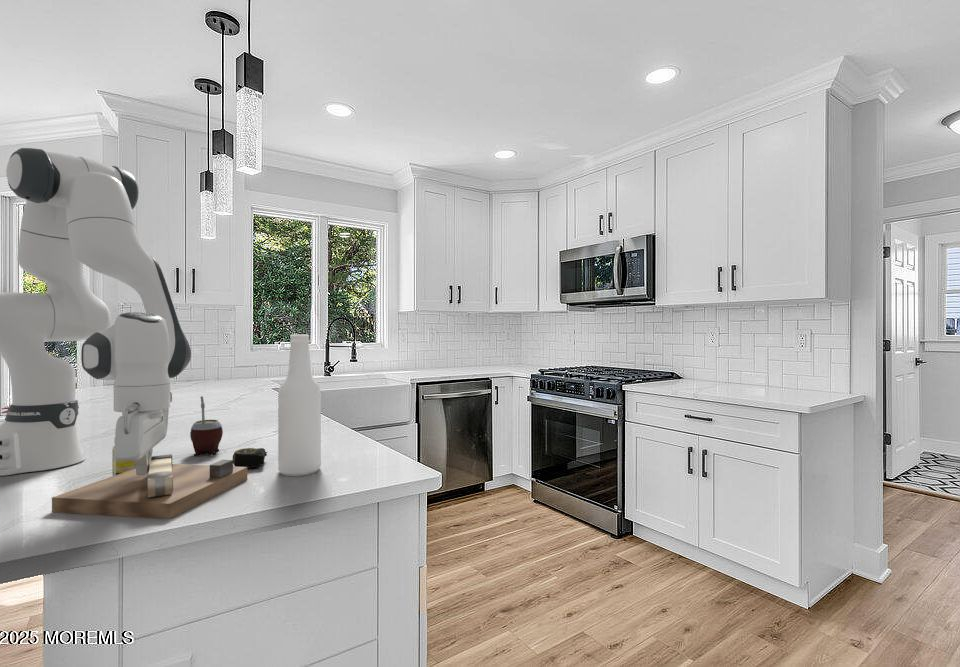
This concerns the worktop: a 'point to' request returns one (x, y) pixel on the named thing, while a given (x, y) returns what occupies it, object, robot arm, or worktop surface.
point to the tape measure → (249, 457)
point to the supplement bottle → (121, 464)
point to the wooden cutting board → (132, 500)
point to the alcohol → (299, 414)
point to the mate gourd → (206, 435)
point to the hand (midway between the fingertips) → (143, 473)
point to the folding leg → (160, 476)
